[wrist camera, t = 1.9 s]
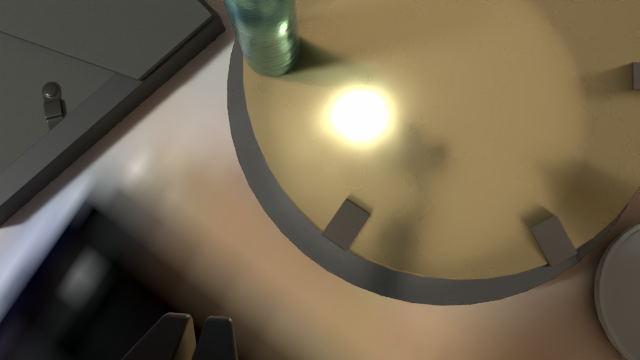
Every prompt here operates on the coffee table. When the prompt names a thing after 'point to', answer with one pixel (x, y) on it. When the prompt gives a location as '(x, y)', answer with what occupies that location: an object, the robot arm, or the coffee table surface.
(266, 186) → the dark grey round disc
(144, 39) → the picture frame
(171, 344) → the robot arm
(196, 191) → the coffee table surface
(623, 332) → the pocket watch
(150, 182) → the coffee table surface
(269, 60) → the tan round piece
